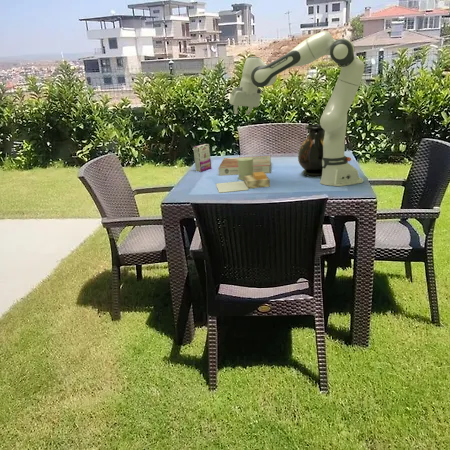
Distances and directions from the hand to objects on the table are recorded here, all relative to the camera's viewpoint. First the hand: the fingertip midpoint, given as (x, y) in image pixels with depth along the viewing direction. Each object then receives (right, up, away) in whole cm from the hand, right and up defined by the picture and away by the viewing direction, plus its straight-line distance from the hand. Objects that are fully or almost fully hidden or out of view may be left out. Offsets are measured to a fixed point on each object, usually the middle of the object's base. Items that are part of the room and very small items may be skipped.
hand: (241, 114), depth 241 cm
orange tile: (+10, -34, +5) cm, 36 cm away
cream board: (-5, -39, +5) cm, 40 cm away
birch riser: (+8, -38, +6) cm, 39 cm away
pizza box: (+5, -24, +47) cm, 54 cm away
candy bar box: (-24, -24, +54) cm, 63 cm away
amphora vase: (+45, -31, +19) cm, 58 cm away
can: (+3, -33, +23) cm, 40 cm away
